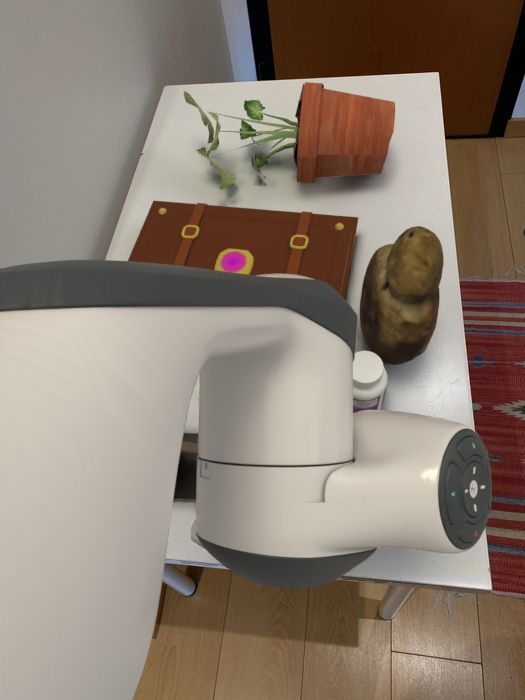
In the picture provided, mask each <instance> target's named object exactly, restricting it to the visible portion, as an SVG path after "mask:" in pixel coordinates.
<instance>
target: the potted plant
mask: <svg viewBox="0 0 525 700" xmlns="http://www.w3.org/2000/svg"><path fill="white" fill-rule="evenodd" d="M183 97H184V100H185V103H187V104H188V105H190V106H193V107H195V108H197V109H198V111H199V114H200V117H201V121H202V123H203V125H204V126H205V127H207V129H208V140H207V144H210V147H209V149H208V150H207V149H206V147H205V146H202V147H200V148H198V149H195V150H194V151H196V152H198V154H200V155H201V156H203V157H204V158H206V159H207V160H208V161H209V166H211V167H212V168H214V170H216V171H218V172H220V176H221V184H220V186H219V187H220V190H224V189H226V188H228V187H230V186H232V185H233V184H235V182H236V181H237V177H235V176H234V175H232V174H230V173H229V172H228V171H226V170H225V169H224V168H222V167H221V166H219V165H218V164H217V163H215V162H214V161H212V160H211V159H213V158H217V157H218V156H220V155H223V154H225V153H229V152H231V151H232V149H231V150H227V151H224V152H222V153H220V154H217V155H214V156H212V157H210V155H211V152H212V151H216V150H217V149H218V148H219V145H220V140H219V134H220V133H237V134H239V137H240V140H241V141H243V140H247V139H249V138H251V141H252V142H251V143H248V144H246V145H242V146H241V147H237V148H233V150H237V149H242V148H247V147H249V146H255V145H258V146H261V144H263V143H266V142H271V141H276V140H278V141H277V142H276V143H274V145H272V146H271V147H270V148H269V149H268V150H266V151H265V152H263V153H262V154H258V153H256V152H254V155H251V161H250V162H251V164H250V165H251V167H252V168H253V170H254V171H255V172H257V173H258V174H259V175H261V176H262V177H263V178H265V179H266V176H264V175H263V174H262V173H261V170H260V168H259V167H260V166H263V165H268V163H269V159H270V158H271V157H273V156H274V155H276V154H277V153H280V152H282V151H284V150H289V149H292V150H293V153H292V154H293V162H294V165H295V168H296V183H300V184H316V179H317V178H318V179H320V178H335V177H348V176H350V177H352V176H369V175H370V176H371V175H381V174H382V172H383V170H384V168H385V167H384V166H385V163H386V160H387V158H388V154H389V149H390V144H391V140H392V137H393V134H394V132H395V131H394V130H395V123H396V122H395V121H396V119H395V117H396V102H395V101H392V100H386V99H382V98H376V97H371V96H365V95H360V94H355V93H349V92H345V91H339V90H333V89H328V88H325V85H324V84H323V82H309V81H308V82H307V81H305V82H304V83H302V87H301V92H300V96H299V99H298V101H297V102H298V103H297V107H296V111H295V115H294V117H295V118H296V121H293V120H290V119H288V118H286V117H281V116H276V115H272V114H268V113H264V112H263V110H265V109H266V107H265V106H263V104H262V103H261V101H260V100H258V99H250V100H247V99H245V100H244V102H243V109H244V111H245V112H246V116H247V117H248V118H249V119H248V118H243V117H237V116H232V115H227V114H221V113H216V112H212V111H207V110H206V113H205V111H204V110H203V109H202V108H201V106H200V105H199V104H198V103H197V102H196V100H195V99H194V98H193V96H192V95H191V94H190V93H189V92H187V91H186V90H184V91H183ZM207 113H208V114H209V115H211V117H212V119H214V121H215V122H216V123H215V125H216V126H215V129H214V126H213V124H212V121H211V120H210V118H209V116H208V115H207ZM219 115H220V116H223V117H228V118H232V119H235V120H240V122H241V123H240V126H241V127H240V128H239V130H221V127H222V126H221V124H220V122H219ZM264 115H265V116H266V117H268V118H269V117H270V118H273V119H277V120H280V121H283V122H284V123H286V124H280V123H274V122H267V121H264ZM248 122H250V123H254V124H261V125H265V126H269V127H275V128H278V129H274V130H256V129H255V128H253V126H252V125H251V124H249V123H248ZM262 135H269V136H267V137H264V138H262V139H261V138H260V139H259V140H256V141H255V139H254V138H255V137H259V136H262ZM286 139H295V141H294V142H288V143H286V144H284V145H282V146H280V147H278V148H276V149H274V148H275V147H276V146H278V145H279V144H281V143H282V142H283V141H284V140H286ZM272 149H274V150H272ZM271 150H272V151H271ZM269 151H271V152H269ZM267 152H269V154H268V155H267V156H265V157H263V155H265V154H266V153H267Z"/></svg>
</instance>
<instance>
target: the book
mask: <svg viewBox="0 0 525 700" xmlns="http://www.w3.org/2000/svg"><path fill="white" fill-rule="evenodd" d="M358 223H359V217H358V216H348V215H336V214H323V213H313V212H312V211H301V212H297V211H286V210H275V209H273V210H272V209H264V208H263V209H260V208H251V207H250V208H248V207H236V206H227V205H226V206H225V205H224V206H223V205H212V204H208V203H205V202H204V203H203V202H197V203H189V202H188V203H187V202H176V201H165V200H152V202H151V204H150V208H149V210H148V212H147V215H146V217H145V219H144V222H143V224H142V226H141V228H140V231H139V233H138V236H137V238H136V241H135V243H134V245H133V247H132V250H131V251H130V253H129V257H128V259H127V261H132V262H146V263H158V264H169V265H179V266H188V267H196V268H203V269H211V270H218V271H225V272H233V273H240V274H247V275H263V274H294V275H301V276H305V277H309V278H312V279H315V280H320V281H324V282H326V283H328V284H329V285H330V286H331V287H333V288H334V289H335V290H336V291H337V292H338V293H339V294H340V295H341V296H342V297H343V298H344V299H345V300H346V301H347V296H348V291H349V285H350V279H351V273H352V268H353V263H354V256H355V251H356V246H357V238H358V235H356V234H357V229H358Z"/></svg>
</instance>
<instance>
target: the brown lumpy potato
mask: <svg viewBox="0 0 525 700" xmlns="http://www.w3.org/2000/svg"><path fill="white" fill-rule="evenodd" d="M444 259H445V258H444V251H443V246H442V242H441V241H440V238H439V237H438V236H437V234H436V233H434V231H432V230H431V229H429V228H427V227H424V226H421V225H415V226H411V227H409V228H407V229H405V230H404V231H403V232H402V233H401V234H400V235H398V237H397V239H395V241H394V243H389V244H384V245H382V246H380V247H378V248H377V249H376V250H375V251H374V253H373V255H372V256H371V257H370V259H369V261H368V264H367V267H366V270H365V273H364V277H363V281H362V284H361V285H362V286H361V294H360V299H359V300H360V301H359V323H360V330H361V333H362V337H363V340H364V343H365V345H366V347H367V349H368V351H370V352H373V353H375V354H377V355H378V356H379V357H380V358H381V360H382V362H383V364H385V365H392V366H396V365H402V364H405V363H408V362H411V361H413V360H414V359H415V358H417V357H419V356H421V355H422V354H423V353H424V352H425V351H426V350H427V348H428V346H429V344H430V342H431V340H432V337H433V335H434V334H435V330H436V326H437V323H438V317H439V308H440V284H441V282H442V281H441V280H442V277H443V270H444Z"/></svg>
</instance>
